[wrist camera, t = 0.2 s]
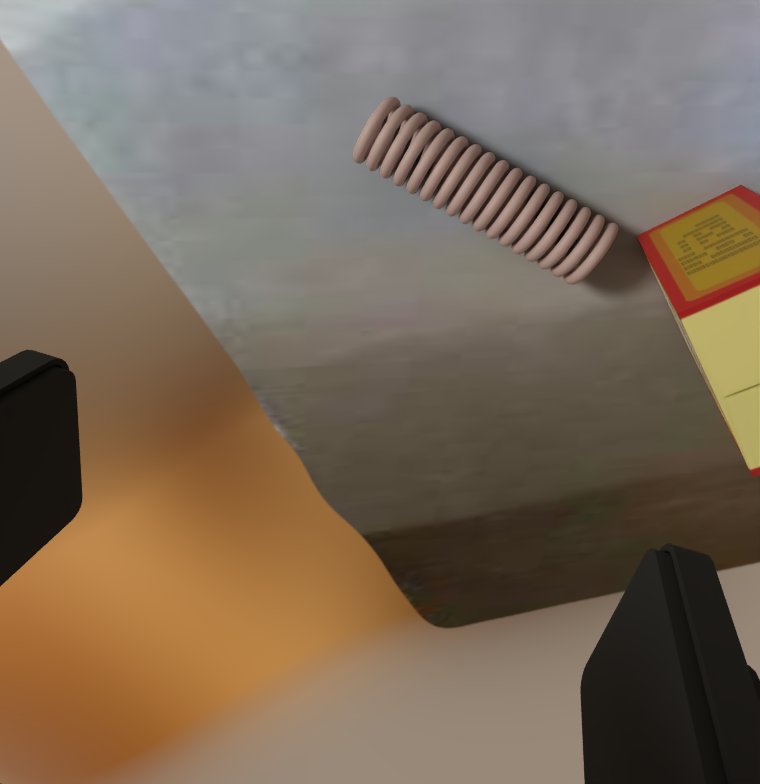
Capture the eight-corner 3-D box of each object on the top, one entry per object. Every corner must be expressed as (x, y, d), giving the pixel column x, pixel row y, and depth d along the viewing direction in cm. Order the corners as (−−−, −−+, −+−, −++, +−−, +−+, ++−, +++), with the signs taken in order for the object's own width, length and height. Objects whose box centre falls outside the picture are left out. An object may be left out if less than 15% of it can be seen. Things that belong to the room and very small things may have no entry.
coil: (630, 232, 38) (371, 84, 38) (585, 298, 40) (338, 157, 40) (618, 224, 42) (385, 91, 42) (578, 284, 44) (355, 156, 44)
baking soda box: (636, 236, 42) (678, 315, 28) (740, 185, 39) (845, 244, 25) (691, 354, 44) (754, 480, 30) (792, 314, 41) (913, 432, 28)
